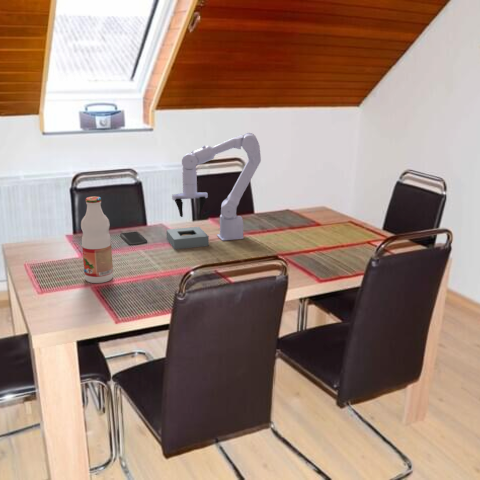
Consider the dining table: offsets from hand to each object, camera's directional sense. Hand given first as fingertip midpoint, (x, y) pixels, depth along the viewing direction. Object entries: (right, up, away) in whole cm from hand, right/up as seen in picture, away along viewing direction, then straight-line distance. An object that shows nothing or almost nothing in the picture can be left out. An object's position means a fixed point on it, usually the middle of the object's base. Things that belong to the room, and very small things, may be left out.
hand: (190, 215), depth 229 cm
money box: (-1, -11, -3) cm, 12 cm away
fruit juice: (-27, -23, -41) cm, 55 cm away
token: (-1, -11, -3) cm, 12 cm away
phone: (-23, -10, 0) cm, 26 cm away
